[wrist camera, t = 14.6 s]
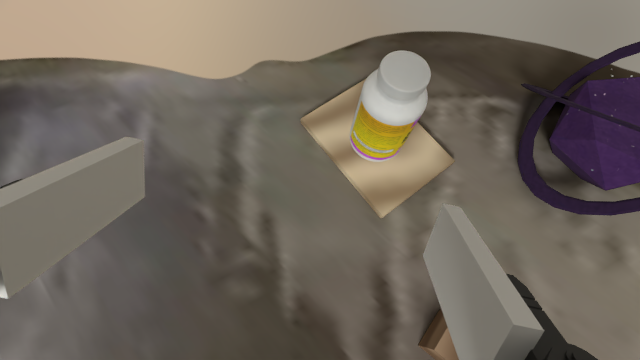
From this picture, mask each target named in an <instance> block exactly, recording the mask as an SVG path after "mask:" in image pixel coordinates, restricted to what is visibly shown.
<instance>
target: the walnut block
mask: <svg viewBox="0 0 640 360" xmlns="http://www.w3.org/2000/svg"><path fill="white" fill-rule="evenodd" d="M418 346H420V347H421V348H422V349H423V350H425V351H426V352H427V353H428V354H429V355H431V356H432V357H433V358H434V359H435V360H459V358H458V356H457V353H456V350H455V347H454V344H453V341H452V338H451V335H450V332H449V330H448V327H447V324H446V321H445V318H444V315H443V312H442V309H440V310H439V311H438V313H437V315H436V316H435V318H434V320H433V321H432V323H431V325H430V326H429V328H428V330H427V331H426V333H425V335H424V336H423V338H422V340H421V341H420V343H419V345H418Z"/></svg>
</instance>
